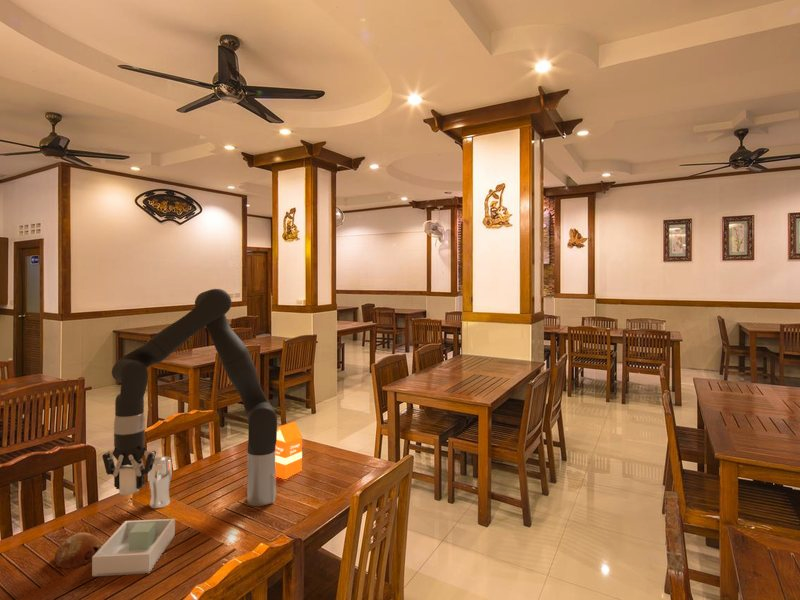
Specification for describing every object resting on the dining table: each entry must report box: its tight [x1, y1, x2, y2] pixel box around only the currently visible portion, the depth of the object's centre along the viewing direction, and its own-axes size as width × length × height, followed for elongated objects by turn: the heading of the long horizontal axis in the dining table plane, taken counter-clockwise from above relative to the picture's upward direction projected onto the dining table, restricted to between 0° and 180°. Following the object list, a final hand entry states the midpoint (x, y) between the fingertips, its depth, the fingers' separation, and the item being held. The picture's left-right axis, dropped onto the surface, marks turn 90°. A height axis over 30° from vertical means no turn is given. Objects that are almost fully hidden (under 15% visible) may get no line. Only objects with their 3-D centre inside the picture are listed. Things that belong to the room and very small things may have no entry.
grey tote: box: [91, 518, 176, 577], centre depth 124 cm, size 14×18×5 cm
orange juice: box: [275, 421, 303, 480], centre depth 177 cm, size 8×9×20 cm
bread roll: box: [54, 531, 104, 569], centre depth 122 cm, size 10×10×8 cm
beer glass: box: [147, 455, 173, 509], centre depth 152 cm, size 7×7×15 cm
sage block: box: [129, 522, 156, 551], centre depth 127 cm, size 5×5×5 cm
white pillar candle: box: [118, 465, 140, 496], centre depth 130 cm, size 5×5×7 cm
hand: (129, 487), depth 130 cm, fingers closed on white pillar candle, 5 cm apart
